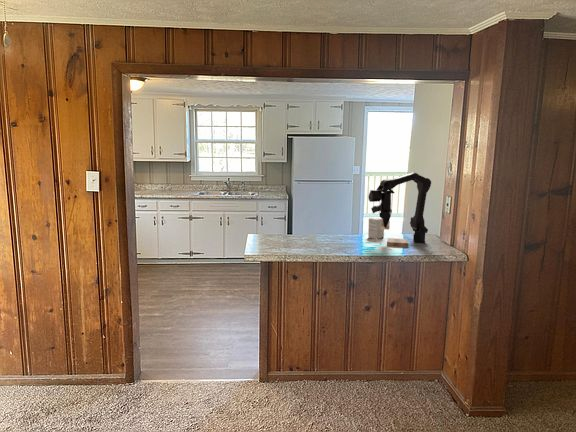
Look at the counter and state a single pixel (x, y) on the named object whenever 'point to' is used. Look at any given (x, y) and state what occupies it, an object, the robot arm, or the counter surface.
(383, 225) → the maple cube
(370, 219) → the supplement box
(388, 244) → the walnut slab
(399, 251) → the counter surface
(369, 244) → the counter surface
